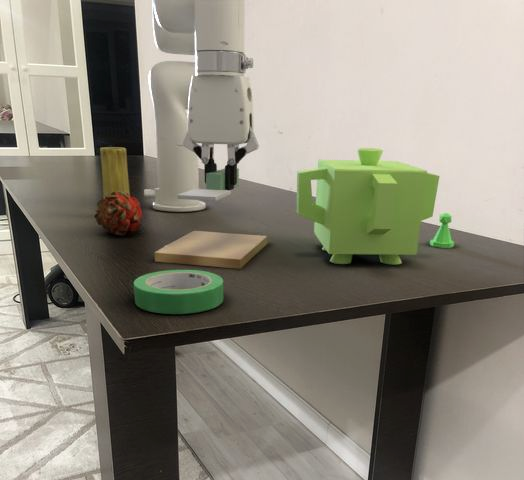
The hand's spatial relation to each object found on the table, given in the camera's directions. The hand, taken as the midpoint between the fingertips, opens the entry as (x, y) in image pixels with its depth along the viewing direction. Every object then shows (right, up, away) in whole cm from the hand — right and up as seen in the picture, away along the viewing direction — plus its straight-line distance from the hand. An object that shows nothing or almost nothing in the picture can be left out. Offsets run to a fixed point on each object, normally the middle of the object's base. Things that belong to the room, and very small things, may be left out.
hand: (220, 188), depth 94 cm
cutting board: (-1, -11, +1) cm, 11 cm away
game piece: (+40, -8, +10) cm, 42 cm away
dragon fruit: (-20, -5, +14) cm, 25 cm away
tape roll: (-4, -21, -23) cm, 31 cm away
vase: (-25, +2, +29) cm, 38 cm away
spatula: (-1, -1, -2) cm, 3 cm away
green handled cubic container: (+24, -11, +1) cm, 26 cm away
